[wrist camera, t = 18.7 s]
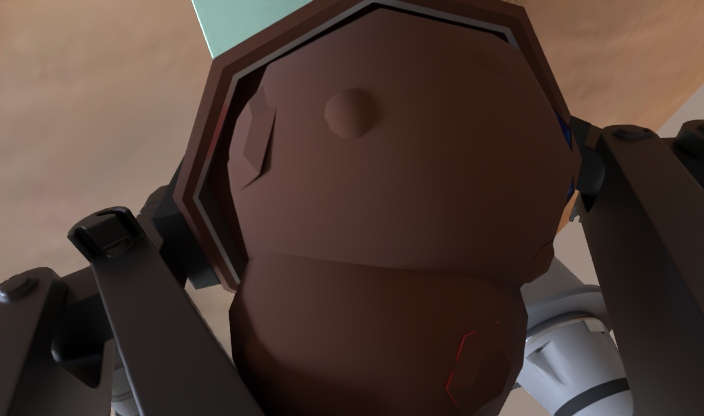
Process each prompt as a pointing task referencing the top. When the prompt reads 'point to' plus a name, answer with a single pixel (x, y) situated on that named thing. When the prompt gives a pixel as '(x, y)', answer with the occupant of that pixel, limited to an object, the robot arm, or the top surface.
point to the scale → (239, 19)
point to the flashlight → (122, 390)
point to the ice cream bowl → (380, 202)
